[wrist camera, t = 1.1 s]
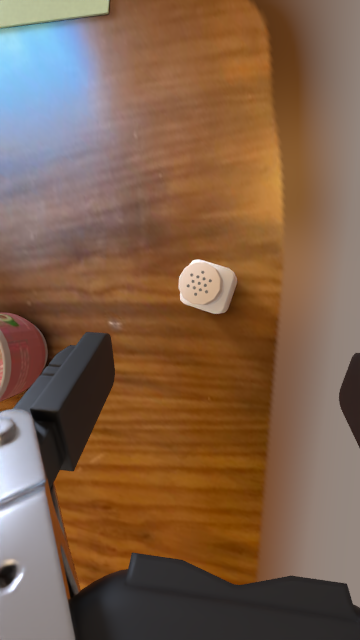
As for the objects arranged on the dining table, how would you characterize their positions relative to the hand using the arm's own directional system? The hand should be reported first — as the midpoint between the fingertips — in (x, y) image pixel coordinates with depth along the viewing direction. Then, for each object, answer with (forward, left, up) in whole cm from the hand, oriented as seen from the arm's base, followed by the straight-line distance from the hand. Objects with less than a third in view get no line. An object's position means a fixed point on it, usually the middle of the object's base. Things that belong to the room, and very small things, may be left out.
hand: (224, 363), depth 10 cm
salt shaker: (+1, -5, -21) cm, 22 cm away
